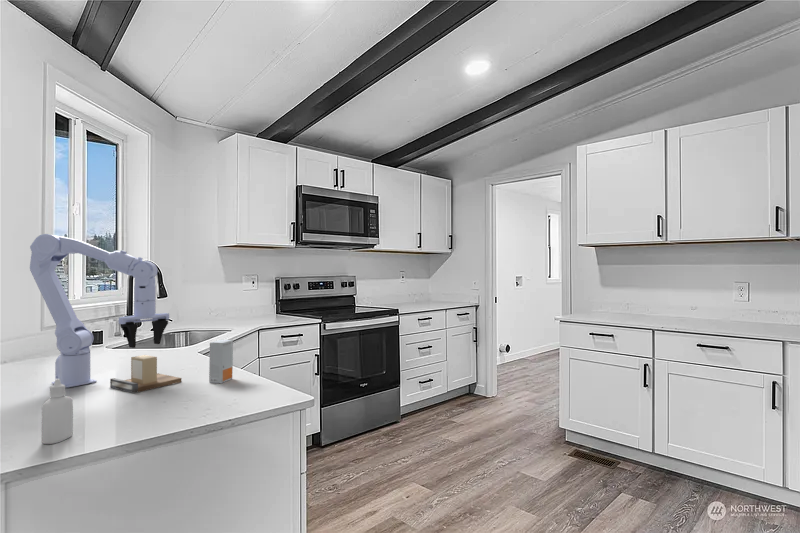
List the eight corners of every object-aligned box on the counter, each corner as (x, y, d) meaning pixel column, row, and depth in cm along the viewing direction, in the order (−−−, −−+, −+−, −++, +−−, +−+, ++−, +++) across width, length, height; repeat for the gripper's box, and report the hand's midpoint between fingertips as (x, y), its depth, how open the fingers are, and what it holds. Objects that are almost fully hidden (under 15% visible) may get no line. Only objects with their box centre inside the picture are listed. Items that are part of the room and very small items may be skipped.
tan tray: (109, 387, 131) (109, 378, 131) (157, 377, 144) (157, 369, 144) (133, 393, 125) (133, 384, 125) (181, 382, 137) (181, 373, 137)
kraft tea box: (143, 384, 130) (143, 359, 130) (131, 381, 133) (131, 357, 133) (156, 381, 134) (156, 356, 134) (144, 378, 137) (144, 354, 137)
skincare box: (221, 383, 136) (221, 342, 136) (208, 383, 136) (208, 342, 136) (233, 378, 141) (233, 339, 142) (220, 378, 142) (220, 339, 142)
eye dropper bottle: (36, 441, 90) (36, 380, 90) (69, 433, 95) (69, 374, 95) (45, 446, 88) (45, 383, 88) (78, 437, 93) (78, 377, 93)
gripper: (128, 302, 132) (128, 350, 132) (175, 299, 144) (175, 343, 144) (114, 301, 136) (114, 348, 135) (161, 299, 148) (161, 341, 148)
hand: (144, 345), depth 140 cm, fingers open, 7 cm apart
